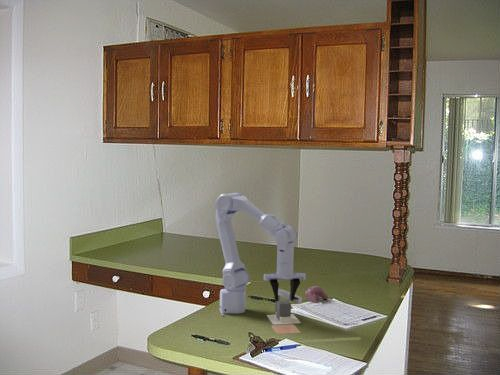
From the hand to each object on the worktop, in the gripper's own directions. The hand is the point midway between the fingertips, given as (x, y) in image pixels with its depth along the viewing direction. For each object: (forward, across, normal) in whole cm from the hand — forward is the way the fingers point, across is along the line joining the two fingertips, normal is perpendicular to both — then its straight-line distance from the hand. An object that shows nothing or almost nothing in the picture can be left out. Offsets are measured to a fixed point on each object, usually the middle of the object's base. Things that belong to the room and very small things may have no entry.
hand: (284, 300), depth 180 cm
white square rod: (+1, +2, +5) cm, 6 cm away
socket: (+8, 0, +4) cm, 9 cm away
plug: (+7, 0, +2) cm, 8 cm away
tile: (+8, -1, -8) cm, 12 cm away
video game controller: (+8, +19, +24) cm, 32 cm away
